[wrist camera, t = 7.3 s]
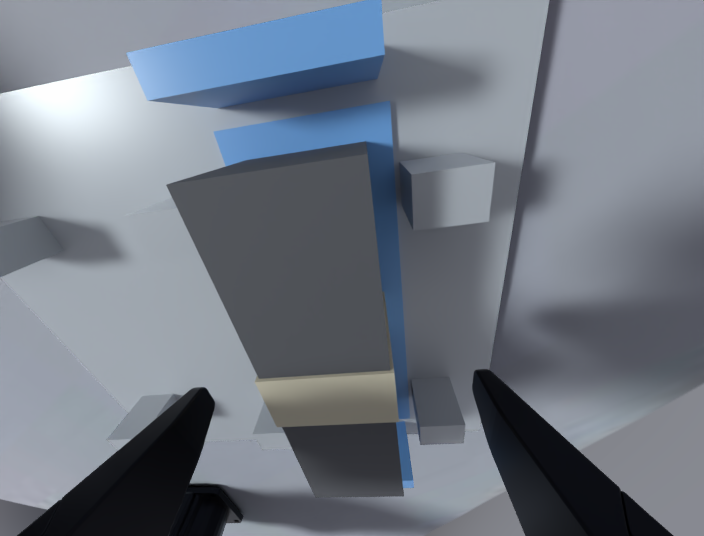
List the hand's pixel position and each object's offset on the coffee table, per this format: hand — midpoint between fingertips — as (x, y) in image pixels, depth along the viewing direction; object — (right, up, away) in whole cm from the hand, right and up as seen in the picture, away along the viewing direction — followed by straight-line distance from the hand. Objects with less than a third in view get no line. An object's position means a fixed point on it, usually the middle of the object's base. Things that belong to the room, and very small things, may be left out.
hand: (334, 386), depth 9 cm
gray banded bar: (0, +2, +3) cm, 4 cm away
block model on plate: (-4, +2, +4) cm, 6 cm away
